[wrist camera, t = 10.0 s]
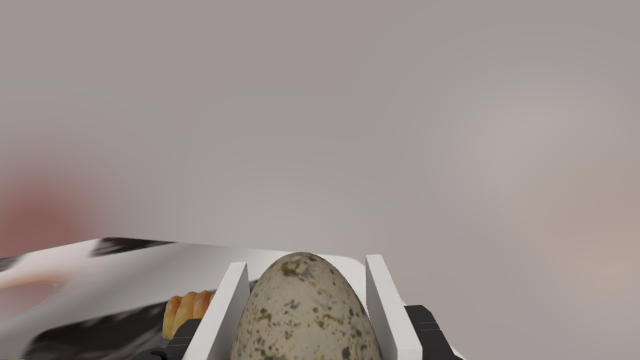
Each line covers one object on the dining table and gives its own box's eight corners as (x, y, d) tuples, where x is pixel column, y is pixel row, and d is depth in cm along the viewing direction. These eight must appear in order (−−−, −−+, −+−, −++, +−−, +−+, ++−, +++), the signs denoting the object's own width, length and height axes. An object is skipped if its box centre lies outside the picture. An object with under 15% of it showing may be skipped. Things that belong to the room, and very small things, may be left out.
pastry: (252, 304, 44) (249, 276, 43) (251, 339, 37) (247, 308, 36) (175, 314, 42) (170, 286, 41) (159, 353, 36) (153, 321, 35)
